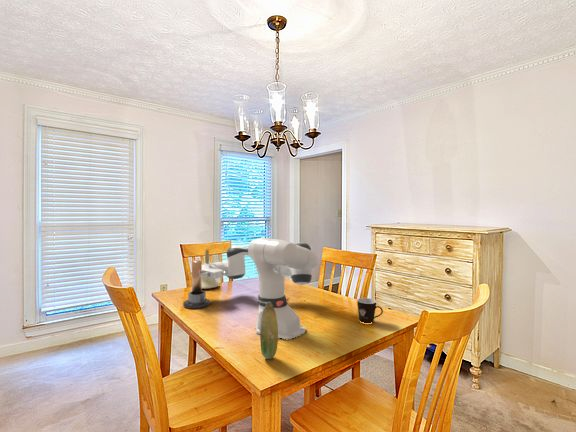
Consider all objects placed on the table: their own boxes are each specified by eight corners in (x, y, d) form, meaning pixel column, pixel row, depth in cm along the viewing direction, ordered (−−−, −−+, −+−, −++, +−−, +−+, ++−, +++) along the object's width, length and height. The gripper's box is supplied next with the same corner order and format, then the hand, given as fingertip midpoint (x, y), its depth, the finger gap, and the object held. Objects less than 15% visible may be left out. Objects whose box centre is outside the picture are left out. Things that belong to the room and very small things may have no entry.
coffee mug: (353, 320, 148) (353, 299, 148) (368, 317, 151) (369, 297, 151) (367, 329, 137) (368, 306, 137) (384, 326, 140) (384, 304, 140)
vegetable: (281, 358, 110) (281, 302, 109) (270, 365, 105) (271, 306, 104) (267, 353, 113) (268, 299, 113) (256, 360, 108) (257, 303, 107)
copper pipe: (203, 290, 168) (203, 261, 168) (195, 292, 164) (195, 262, 164) (197, 289, 171) (197, 260, 171) (189, 291, 167) (189, 261, 167)
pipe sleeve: (215, 304, 169) (215, 292, 169) (194, 310, 158) (194, 298, 158) (199, 299, 178) (199, 287, 177) (177, 305, 166) (177, 293, 166)
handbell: (220, 289, 199) (220, 250, 198) (195, 291, 193) (196, 251, 192) (217, 283, 213) (217, 247, 212) (193, 285, 207) (193, 248, 206)
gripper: (228, 278, 172) (207, 283, 161) (204, 273, 184) (183, 277, 173) (228, 267, 172) (207, 271, 161) (204, 262, 184) (183, 266, 173)
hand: (195, 274), depth 167 cm, fingers closed on copper pipe, 5 cm apart
